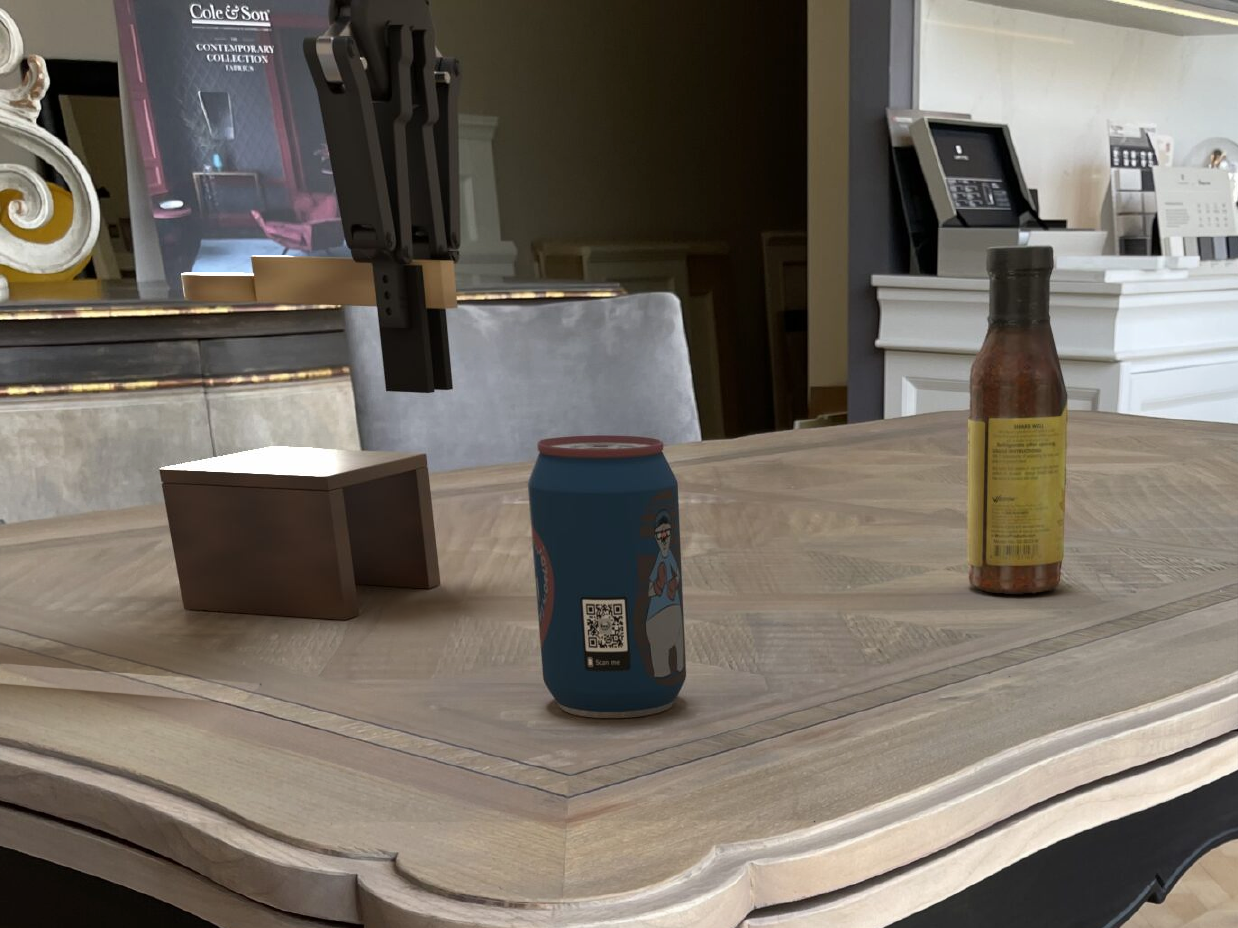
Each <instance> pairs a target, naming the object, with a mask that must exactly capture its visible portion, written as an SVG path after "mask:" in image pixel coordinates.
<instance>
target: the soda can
mask: <svg viewBox="0 0 1238 928" xmlns="http://www.w3.org/2000/svg"><path fill="white" fill-rule="evenodd" d="M537 451H538V455H537V457H536V460H535V462H534V465H533V468H532V470H531V473H530V475H529V478H528V481H527V493H528V495H527V496H528V506H529V517H530V519H529V520H530V531H531V541H532V542H531V545H532V555H533V556H532V557H533V569H534V580H535V581H534V583H535V594H536V605H537V618H538V620H537V621H538V630H539V644H540V655H541V656H540V657H541V667H542V679H543V682H544V684H545V686H546V688H547V689H548V691H549V693H550V694H551V696H552V697H553V699H554V700H555V701H556V703H557V705H558V706H559V707H560V709H561V710H563V712H565V713H568V714H571V715H575V716H579V717H584V718H593V719H630V718H638V717H646V716H649V715H650V716H651V715H655V714H658V713H662V712H665V711H667V710H669V709H670V708H672V706H673V705H674V703H675V702H676V699H677V698H678V695H679V694H680V691H682V688H683V686H684V684H685V681H686V678H687V662H686V642H685V641H686V640H685V638H686V637H685V615H684V596H683V594H684V592H683V571H682V570H683V569H682V549H681V527H680V524H681V523H680V506H679V501H680V500H679V483H678V482H679V481H678V480H677V477H676V475H675V474H674V471H673V470H672V468H671V466H670V463H669V462H668V460H667V458H666V456H665V454H664V452H663V451H664V442H663V441H662V440H661V439H659V438H654V437H653V438H652V437H646V436H635V435H609V434H607V435H605V434H604V435H603V434H601V435H599V434H597V435H572V436H571V435H570V436H559V437H558V436H557V437H549V438H544V439H541V440H539V441H538V442H537Z"/></svg>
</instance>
